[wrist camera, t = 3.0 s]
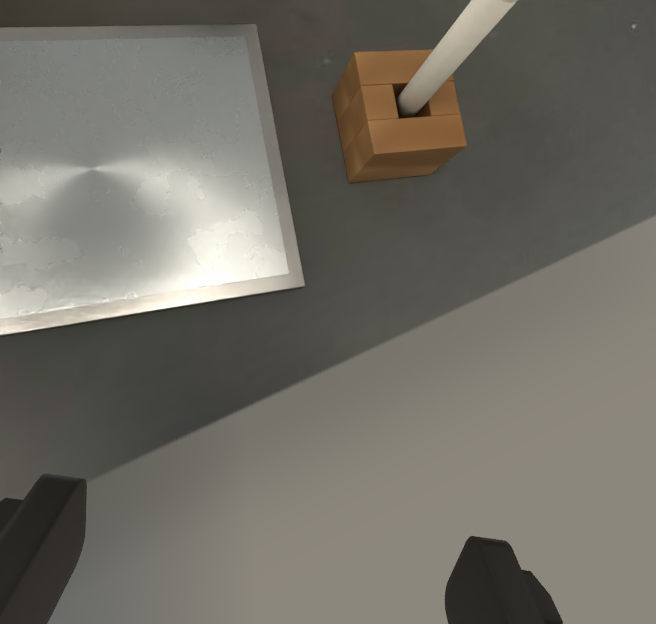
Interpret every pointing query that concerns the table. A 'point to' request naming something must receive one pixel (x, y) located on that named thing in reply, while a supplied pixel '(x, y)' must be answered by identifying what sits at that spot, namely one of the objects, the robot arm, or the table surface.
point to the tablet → (137, 173)
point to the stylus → (451, 53)
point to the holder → (393, 119)
